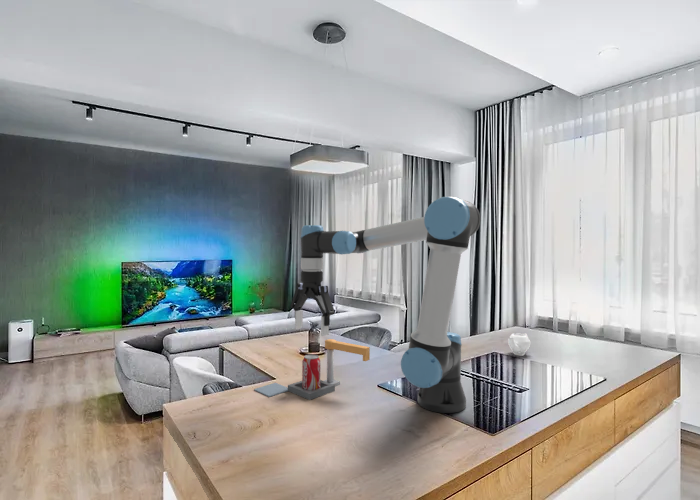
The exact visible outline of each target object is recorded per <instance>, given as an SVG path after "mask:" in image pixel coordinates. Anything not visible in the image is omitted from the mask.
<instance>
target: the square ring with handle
mask: <svg viewBox="0 0 700 500" xmlns="http://www.w3.org/2000/svg"><path fill="white" fill-rule="evenodd" d="M334 351H335V349H326V379H324V380H321V379H320V387H321V388H319V389H316V390H313V391H307V390H305V389H302V380H301V381H296V382H294V383H289V384H287V388H288V391H287V392H289V393H292V394H293V395H296V394H297V396H299V397H302V398H304V399H307V400H309V401H310V400H314V399H316V398H320V397H321V396H324V395H328V394H330V393H334V392H335V391H336V386H340V385H341V382H340V381H339V380H337V379H334V377H335V376H334V374H335V373H334V372H335V371H334V369H335V368H334V366H335V363H334V361H335V358H334V357H335V355H334V354H335V352H334ZM327 393H328V394H327Z"/></svg>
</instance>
